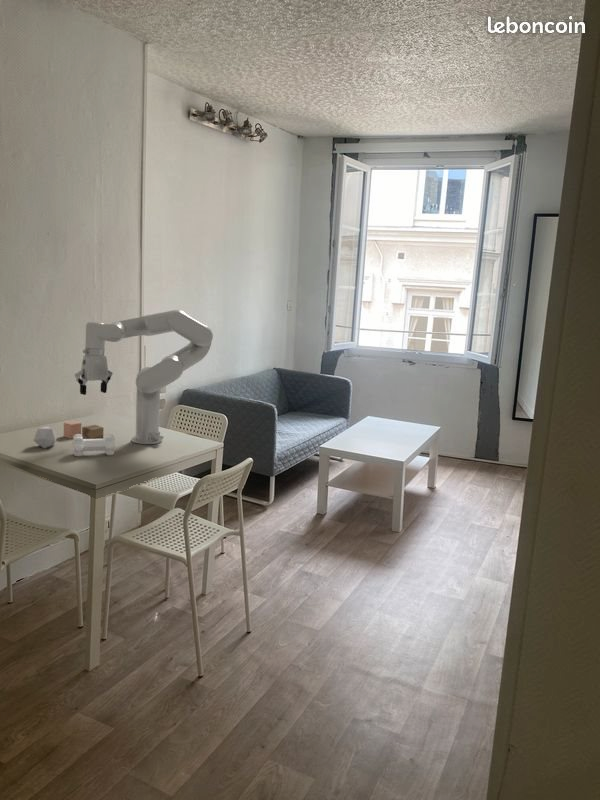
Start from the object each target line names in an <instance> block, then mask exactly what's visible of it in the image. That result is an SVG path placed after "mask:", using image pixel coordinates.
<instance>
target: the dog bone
mask: <svg viewBox="0 0 600 800" xmlns="http://www.w3.org/2000/svg"><path fill="white" fill-rule="evenodd" d="M72 439H73V441H72V445H73V451H72V453H73V456H74V457H80V458H81V456H83V455H84V452H95V451H96V452H100V451H104V452H105V455H107V456H114V454H115V449H116V445H115V442H116V441H115V439H116V437H115V434H113V433H111V432H110V433H106V434H105V435H104V438H103V439H83V437H82V433H81V434H76V435H74V436H73V438H72Z"/></svg>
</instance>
